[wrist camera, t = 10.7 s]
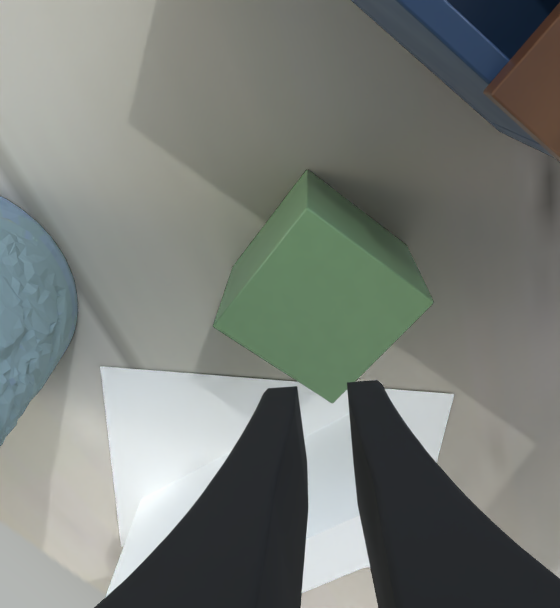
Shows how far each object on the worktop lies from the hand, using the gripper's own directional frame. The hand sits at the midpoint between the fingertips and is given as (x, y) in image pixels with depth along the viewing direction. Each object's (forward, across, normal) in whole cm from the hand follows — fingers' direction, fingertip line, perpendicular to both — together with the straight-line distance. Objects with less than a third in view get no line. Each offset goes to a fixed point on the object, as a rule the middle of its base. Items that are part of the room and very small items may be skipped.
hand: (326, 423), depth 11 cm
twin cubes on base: (+10, +3, +11) cm, 15 cm away
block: (+9, 0, 0) cm, 9 cm away
